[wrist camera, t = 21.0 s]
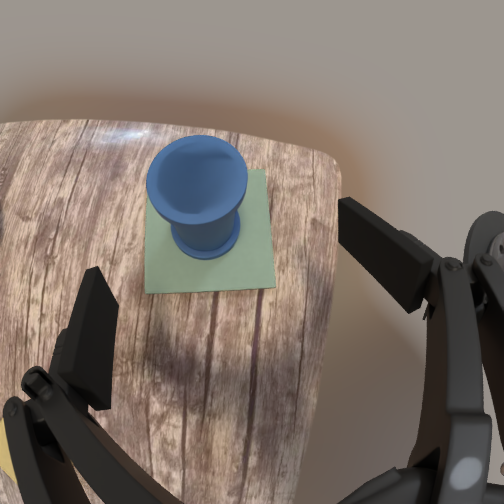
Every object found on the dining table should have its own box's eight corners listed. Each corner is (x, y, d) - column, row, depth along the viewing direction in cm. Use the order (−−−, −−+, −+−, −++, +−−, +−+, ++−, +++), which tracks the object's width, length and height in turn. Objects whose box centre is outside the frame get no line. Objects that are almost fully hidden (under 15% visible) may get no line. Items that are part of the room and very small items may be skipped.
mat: (264, 171, 29) (264, 169, 29) (275, 287, 27) (276, 287, 26) (149, 177, 28) (148, 175, 28) (146, 294, 25) (144, 293, 25)
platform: (26, 408, 21) (1, 417, 16) (77, 456, 20) (57, 474, 15) (12, 446, 19) (-9, 456, 14) (59, 489, 18) (41, 506, 13)
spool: (238, 194, 28) (244, 133, 18) (242, 258, 26) (251, 222, 17) (172, 197, 27) (150, 138, 17) (172, 261, 26) (142, 227, 16)
